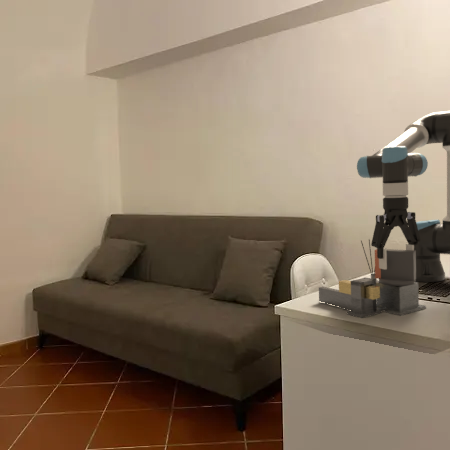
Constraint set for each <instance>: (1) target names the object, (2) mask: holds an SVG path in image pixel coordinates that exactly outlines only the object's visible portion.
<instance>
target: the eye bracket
mask: <svg viewBox="0 0 450 450" xmlns="http://www.w3.org/2000/svg"><path fill="white" fill-rule="evenodd" d="M376 279H377V278H376ZM376 279H371V277H370V278H369V277H362V278H358V279H353V280H350V281H351V295H350V294H346V293H341V292H339V289H335V288H333V287H331V288H330V287H327V286H319V287H318V302H319V301H321V302H325V303H328V304H332V305H335V306H339V307H341V308H345V309H348V310H346V314H347V313H348V314H351V315H350V316H352V315H354V316H353V317H356V316H357V317H356V318H359V317H361V318H360V319H363V318H362V317H364V318H367V317H370V315H371V316H374V314H375V315H377V314H382V313H383V311H382V310H379V309H377V299H374V300H372V299H368V298H364V286H366V285H374V286H376ZM341 308H340V309H341ZM345 309H344V310H345ZM349 310H351V311H349ZM348 314H347V315H348ZM366 316H367V317H366Z"/></svg>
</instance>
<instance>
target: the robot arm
mask: <svg viewBox="0 0 450 450" xmlns="http://www.w3.org/2000/svg"><path fill="white" fill-rule="evenodd" d="M431 144H442V149H444V150H445V151H446V216H445V217H444V218H443V219H442V223H441V221H440V220H439V219H428V220H420V221H417V220H416V212H414V211H411V212H410V211H408V209H409V197H408V195H409V177H418V176H421V175H424V173H425V172H426V171H427V169H428V164H429V163H428V159H427V157H426V156H425V155H424V154H422V153H419V152H414V151H416V149H419V148H423V147H424V146H426V145H431ZM356 169H357V173H358V175H359V176H360V178H362V179H363V178H365V179H366V178H367V179H376V178H377V179H379V178H382V196H384V197H383V198H382V209H383V210H384V212H383V214H376V215H375V226H374V230H373V235H372V240H371V242H370V247H373V248H376V249H377V257H378V258H379V268H380V269H387V252H386V249H387V248H385V246H386V244H387V242H388V239H389V237H390V235H391V232H392V230H394V228H395V227H396V228H397V227H398V228H400V230H401V232H402V234H403V236H404V238H405V240H406V243H408V244H405V250H416V282H417V283H421V282H423V283H435V282H442V281H445V279H446V273H445V270H444V267H443V264H442V261H441V254H442V255H443V254H444V255H450V110H443V111H435V112H431V113H429V114H426V115H424V116H422V117H420V118H418V119H416V120H415V121H413V122H412V123H410V124H409V125H407V127H406V128H405V129H404V131H403V132H402V133H401V134H399V135H398V136H397V137H395V138H394V139H392V141H390V142H389V143H388V144H386V145H385V146H384V147H382V148H381V149H379V150H378V151H377V152H375V153H373V154H372V155H366V156H365V155H364V156H361V157H360V158H359V159H358V160H357V164H356Z"/></svg>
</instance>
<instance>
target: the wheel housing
mask: <svg viewBox="0 0 450 450" xmlns="http://www.w3.org/2000/svg"><path fill="white" fill-rule="evenodd" d="M376 286H379V287H380V298H378V299H376V304H377V309H379V310H382V312H384V313H388V314H392V315H397V316H404V315H405V316H406V315H408V314H411V313H415V312H417V311H418V312H419V311H421V310H424V309H427V306H426V305H425V304H424V305H423V304H420V303H419V302H420V301H419V282H418V281H416V283H415V284H413V285H408V286H389V285H383V284H380V283H379V282H378V283H376Z"/></svg>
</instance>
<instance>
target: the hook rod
mask: <svg viewBox="0 0 450 450" xmlns="http://www.w3.org/2000/svg"><path fill="white" fill-rule="evenodd" d="M351 281H352V280H347V279H343V280H339V281H338V290H339V292H341V293H346V294H350V295H351ZM364 298H368V299H372V300H374V299H376V300H377V299H378V298H380V287H379V286H374V285H366V286H364Z"/></svg>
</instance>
